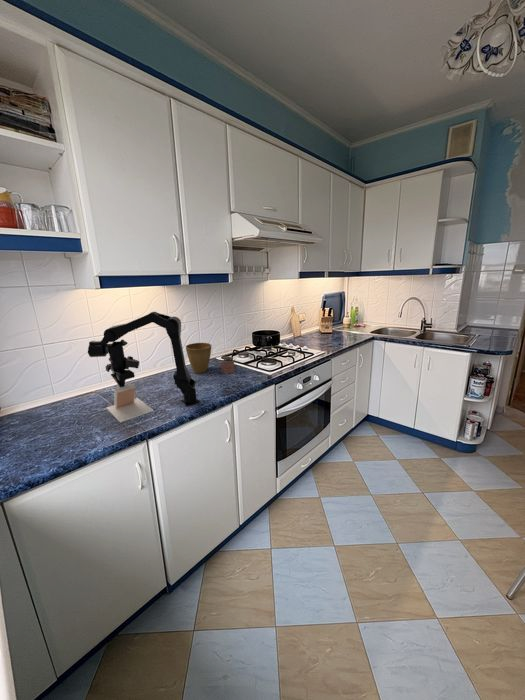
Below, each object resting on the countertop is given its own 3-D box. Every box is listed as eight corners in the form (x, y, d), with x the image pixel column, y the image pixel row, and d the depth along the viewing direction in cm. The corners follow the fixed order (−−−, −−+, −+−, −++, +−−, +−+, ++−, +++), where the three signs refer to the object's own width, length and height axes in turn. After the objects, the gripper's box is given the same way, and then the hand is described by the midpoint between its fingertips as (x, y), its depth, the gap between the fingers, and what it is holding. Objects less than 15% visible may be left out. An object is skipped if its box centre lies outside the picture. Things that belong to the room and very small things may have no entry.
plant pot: (197, 377, 164) (195, 350, 159) (183, 371, 174) (180, 346, 169) (218, 370, 174) (216, 345, 170) (203, 365, 184) (201, 341, 180)
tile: (134, 402, 133) (135, 387, 128) (116, 408, 128) (116, 393, 123) (132, 399, 135) (133, 383, 129) (114, 404, 129) (114, 389, 124)
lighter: (235, 371, 172) (234, 355, 169) (234, 373, 169) (233, 357, 166) (222, 371, 173) (221, 355, 170) (220, 373, 170) (219, 357, 167)
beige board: (154, 411, 126) (153, 410, 126) (120, 423, 117) (120, 422, 117) (137, 398, 138) (137, 397, 138) (106, 408, 129) (105, 407, 129)
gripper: (144, 355, 124) (148, 389, 128) (128, 347, 137) (133, 378, 141) (116, 362, 116) (122, 397, 121) (102, 353, 129) (108, 385, 134)
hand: (122, 389), depth 129 cm, fingers closed
